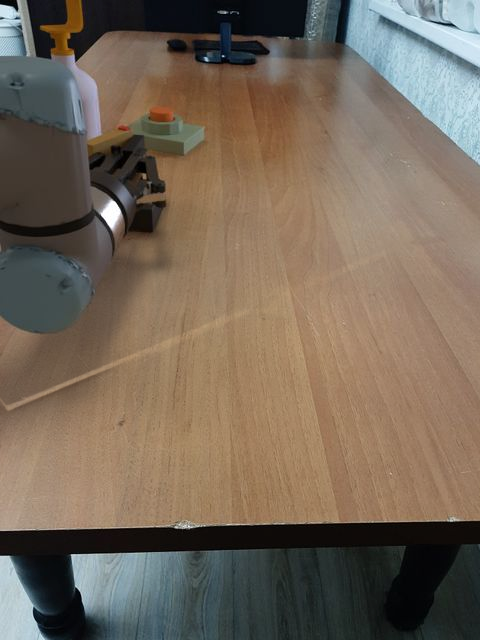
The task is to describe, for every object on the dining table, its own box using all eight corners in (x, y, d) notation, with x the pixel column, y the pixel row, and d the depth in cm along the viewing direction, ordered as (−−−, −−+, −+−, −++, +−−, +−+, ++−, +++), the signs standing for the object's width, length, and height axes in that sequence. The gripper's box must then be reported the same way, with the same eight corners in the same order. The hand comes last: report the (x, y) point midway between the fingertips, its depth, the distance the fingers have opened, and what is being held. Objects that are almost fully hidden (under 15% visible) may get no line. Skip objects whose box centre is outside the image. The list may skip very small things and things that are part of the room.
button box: (118, 144, 97) (116, 120, 95) (143, 129, 105) (142, 106, 103) (183, 155, 95) (183, 131, 93) (204, 139, 103) (204, 116, 101)
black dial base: (54, 228, 71) (50, 204, 69) (81, 191, 81) (78, 169, 79) (152, 236, 71) (151, 212, 69) (167, 198, 81) (166, 176, 79)
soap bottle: (35, 146, 93) (6, -33, 79) (86, 138, 99) (68, -32, 84) (61, 163, 88) (34, -25, 74) (113, 153, 94) (98, -24, 79)
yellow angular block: (98, 201, 71) (92, 143, 66) (87, 198, 71) (80, 140, 67) (135, 182, 77) (132, 127, 72) (126, 179, 77) (122, 124, 73)
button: (146, 121, 97) (145, 111, 96) (155, 116, 100) (155, 105, 99) (168, 125, 96) (167, 114, 95) (177, 119, 99) (176, 109, 98)
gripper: (29, 249, 58) (93, 169, 77) (155, 259, 58) (188, 177, 77) (15, 176, 53) (87, 111, 72) (151, 187, 53) (188, 119, 72)
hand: (139, 145), depth 74 cm, fingers closed
